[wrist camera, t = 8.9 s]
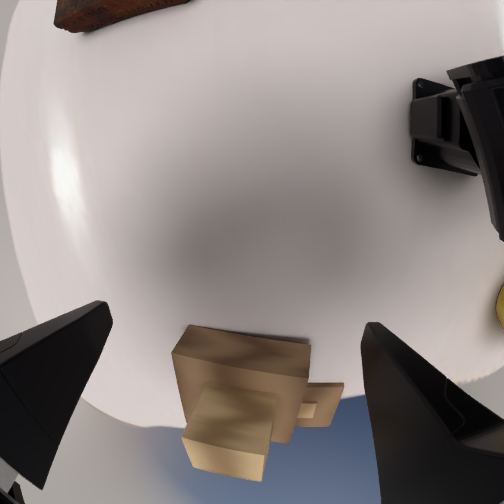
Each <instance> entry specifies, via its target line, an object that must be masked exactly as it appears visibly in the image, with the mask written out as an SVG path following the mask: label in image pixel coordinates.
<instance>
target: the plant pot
mask: <svg viewBox="0 0 504 504" xmlns="http://www.w3.org/2000/svg"><path fill="white" fill-rule="evenodd" d="M496 312H497V316H498V318H499V320H500V322H501V324H502V326H503V328H504V285H503V287H502V289H501V291H500V293H499V296H498V299H497V304H496Z"/></svg>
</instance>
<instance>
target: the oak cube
mask: <svg viewBox="0 0 504 504" xmlns="http://www.w3.org/2000/svg"><path fill="white" fill-rule="evenodd" d="M277 395H278V394H277V393H269V392H262V391H255V390H249V389H243V388H237V387H232V386H226V385H221V384H216V383H211V382H206V384H205V386H204V388H203V390H202V393H201V395H200V397H199V399H198V401H197V404H196V406H195V408H194V410H193V412H192V415H191V417H190V419H189V421H188V423H187V426H186V428H185V430H184V432H183V434H182V437H181V438H182V440H183V443H184V446H185V448H186V451H187V453H188V455H189V458H190V460H191V463H192V465H193V467H196V468H199V469H203V470H207V471H210V472H215V473H219V474H223V475H228V476H233V477H238V478H243V479H248V480H255V481H262V477H263V473H264V468H265V464H266V460H267V455H268V451H269V446H270V441H271V437H272V432H273V426H274V418H275V411H276V403H277Z"/></svg>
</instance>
